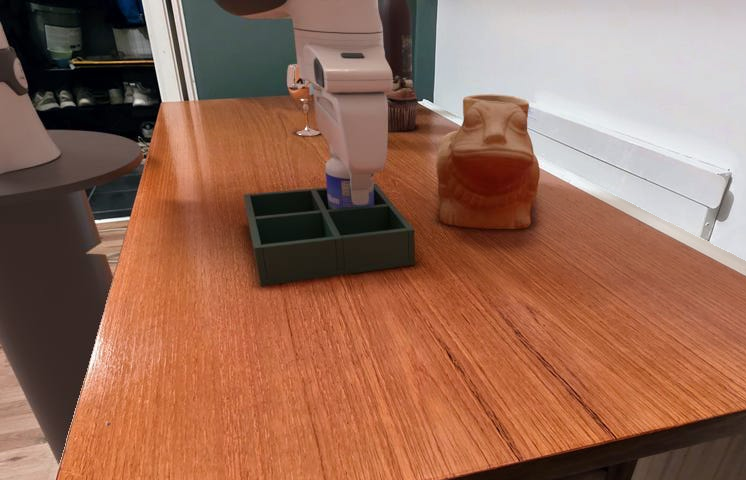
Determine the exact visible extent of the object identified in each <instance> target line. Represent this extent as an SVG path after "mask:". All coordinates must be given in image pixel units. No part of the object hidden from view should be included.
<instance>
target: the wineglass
mask: <svg viewBox="0 0 746 480" xmlns="http://www.w3.org/2000/svg"><path fill="white" fill-rule="evenodd" d="M286 87H287V92H288V94H289V95H290V97H291V98H292V99H293V100H295V101H297V102H300V103H302V104H303V105H302V110H303V112H304V117H305V128H304V129H302V130H301V129H300V130H298V131H296V135H298V136H304V137H313V136H318V135H320V134H321V133H320V132H319V130H318V129H314V128H313V129H312V128H311V126H310V122H309V110H310V109H309V105H308V103H310V102H314V95H313V89H312V88H313V86H312V82H309V81H306V80H303V79H301V78H300V77H299V74H298V65H297V63H293V64H292V63H291V64H288V65H287V70H286Z"/></svg>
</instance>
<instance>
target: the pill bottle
mask: <svg viewBox="0 0 746 480" xmlns="http://www.w3.org/2000/svg"><path fill="white" fill-rule="evenodd" d="M330 152H331V155H332V156H333V158H331V157H330V158H329V159H328V160H327V161H326V163H325V166H324V168H325V169H324V170H325V171H324V172H325V183H326V188H327V196H328V208H329V209H340V208H350V207H361V206H371V205H374V184H375V182H374V173H371V180H370V185H369V189H368V192H369V202H368V203H367V204H366V205H354V204H353V203H352V201H351V199H350V192H349V186H350V174H349V171H348V169H347V168H346V167H345V165H344V164H343V163H342V161H341V160H340V158H339V157H338V156H337V154H336V153H335V152H334V150H333V148H332V146H331V143H330V151H329V153H330ZM331 155H330V156H331Z"/></svg>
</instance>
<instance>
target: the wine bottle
mask: <svg viewBox="0 0 746 480" xmlns="http://www.w3.org/2000/svg"><path fill="white" fill-rule="evenodd" d="M378 10H379V16H380V19H381V22H382V27H383V47H384V52H385V58H386V60H387V62H388V64H389V66H390V68H391V71H392V76H393V75H398V76H399V78H408V79H409V80H412V81H413V47H412V46H413V42H412V39H413V38H412V36H413V34H412V31H413V30H412V27H413V26H412V12H411V8H410V4H409V2H408V0H381V1H380V3H379V7H378Z"/></svg>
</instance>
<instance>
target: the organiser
mask: <svg viewBox="0 0 746 480" xmlns="http://www.w3.org/2000/svg"><path fill="white" fill-rule="evenodd" d="M242 196H243V201H244V206H245V212H246V218H247V223H248V229H249V234H250V238H251V239H250V240H251V245H252V249H253V254H254V260H255V264H256V270H257V275H258V279H259V286H260V287H265V286H266V287H267V286H275V285H280V284H281V285H282V284H286V283H294V282H302V281H308V280H309V281H310V280H316V279H317V280H318V279H323V278H331V277H337V276H344V275H345V276H346V275H352V274H358V273H364V272H365V273H366V272H374V271H380V270H387V269H394V268H395V269H396V268H401V267H408V266H414V265H416V257H415V256H416V250H415V249H416V247H415V244H416V241H415V240H416V239H415V236H416V235H415V228H414V227H413V226H412V225H411V223H410V222H409V221H408V220H407V218H405V216H404V215H403V214H402V213H401V211H399V209H398V208H397V207H396V205H395V204H394V202H392V200H391V199H390V198H389V197H388V196H387V194H386V193H385V192H384V191H383V190H382V189H381V187H380V185H378V184H377V183H374V205H371V206H361V207H350V208H340V209H329V208H328V196H327V187H317V188H305V189H293V190H292V189H291V190H281V191H279V190H277V191H266V192H254V193H244V194H243V195H242Z"/></svg>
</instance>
